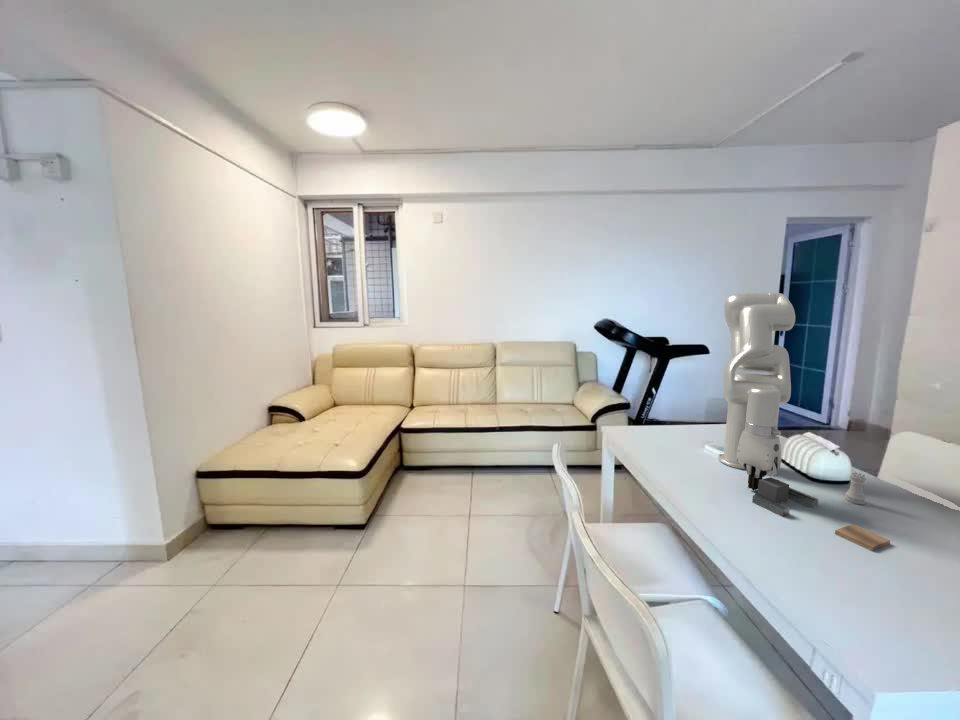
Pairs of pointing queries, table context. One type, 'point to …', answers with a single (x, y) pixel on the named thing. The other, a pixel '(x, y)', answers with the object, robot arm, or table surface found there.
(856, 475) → the rook chess piece
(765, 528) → the table surface
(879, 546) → the pad
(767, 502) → the metal bars
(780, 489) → the dark gray cube
